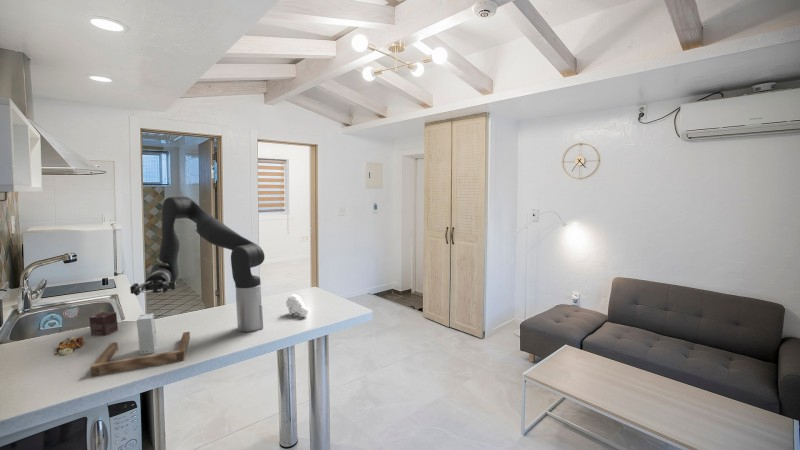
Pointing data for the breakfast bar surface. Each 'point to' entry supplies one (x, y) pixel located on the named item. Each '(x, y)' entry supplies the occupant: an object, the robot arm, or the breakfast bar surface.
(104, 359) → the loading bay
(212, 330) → the breakfast bar surface
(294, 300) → the white lumpy piece
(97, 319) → the box
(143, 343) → the skincare box
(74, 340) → the pastry
